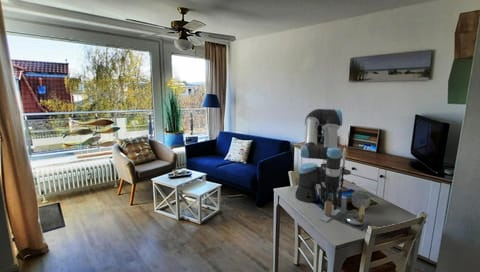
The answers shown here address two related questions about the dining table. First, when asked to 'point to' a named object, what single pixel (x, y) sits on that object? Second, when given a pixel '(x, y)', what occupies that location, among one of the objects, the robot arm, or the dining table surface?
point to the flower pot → (324, 195)
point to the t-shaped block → (338, 210)
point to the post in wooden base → (329, 207)
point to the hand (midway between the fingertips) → (329, 213)
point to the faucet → (356, 217)
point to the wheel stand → (354, 225)
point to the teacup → (360, 199)
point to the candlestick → (344, 171)
